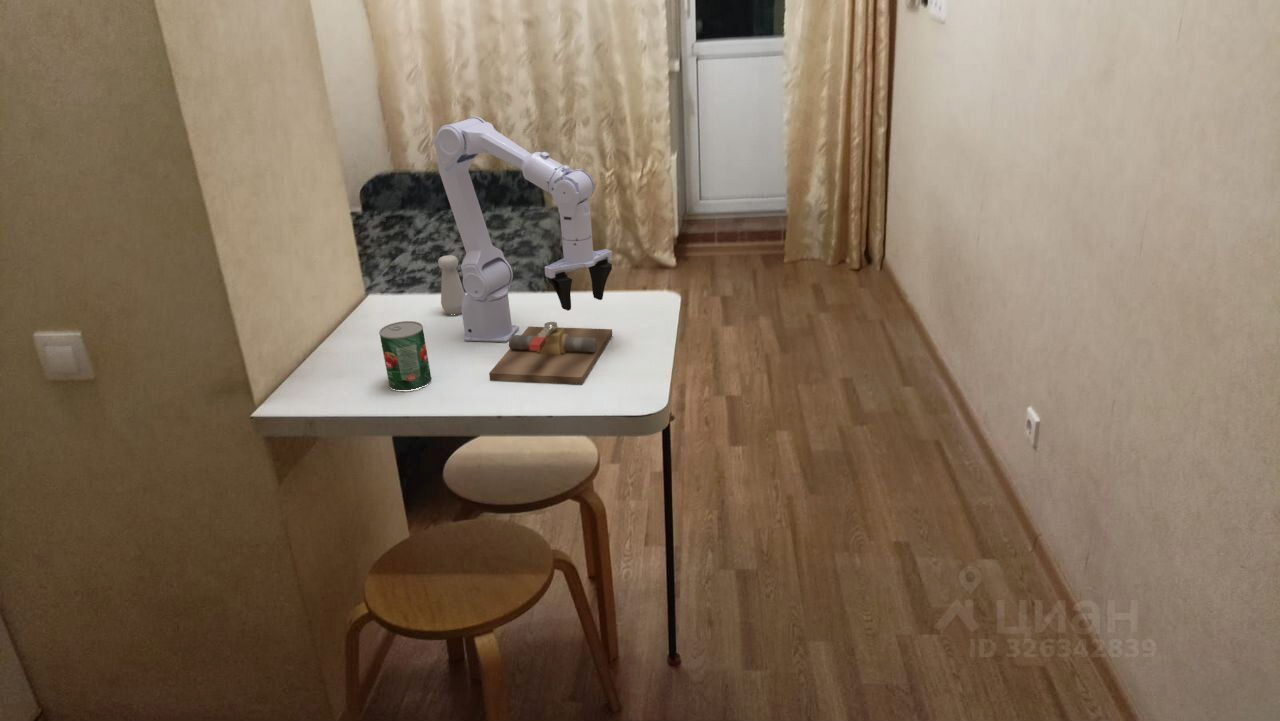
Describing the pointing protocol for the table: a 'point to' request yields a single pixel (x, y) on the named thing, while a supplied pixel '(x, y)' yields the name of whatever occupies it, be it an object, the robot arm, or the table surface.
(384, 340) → the canned tomato
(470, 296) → the robot arm
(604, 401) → the table surface
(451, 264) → the salt shaker
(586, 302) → the table surface
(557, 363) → the valve board
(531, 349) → the valve lever
